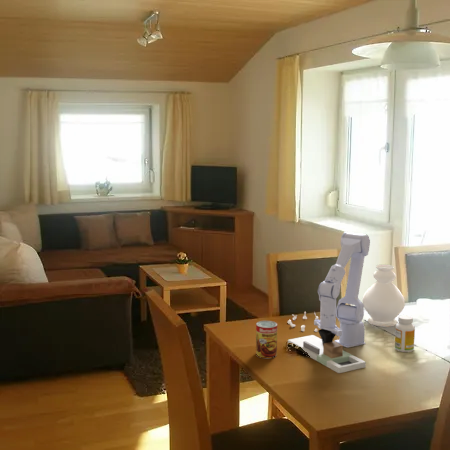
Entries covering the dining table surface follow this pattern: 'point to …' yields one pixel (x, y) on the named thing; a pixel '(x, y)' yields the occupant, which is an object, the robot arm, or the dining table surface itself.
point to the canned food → (266, 338)
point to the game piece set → (302, 325)
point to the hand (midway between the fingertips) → (327, 348)
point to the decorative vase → (383, 298)
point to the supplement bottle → (404, 334)
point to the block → (333, 349)
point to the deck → (337, 364)
